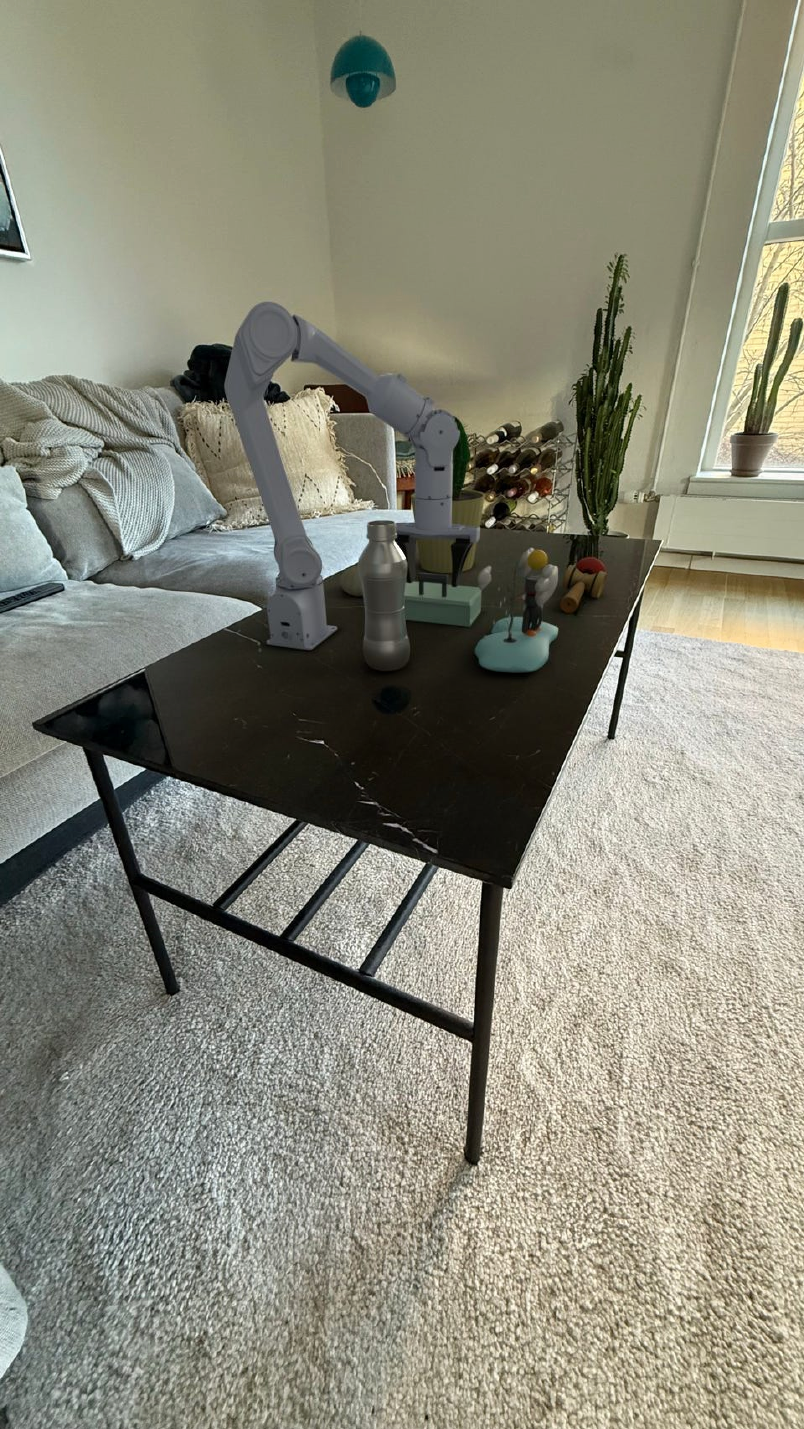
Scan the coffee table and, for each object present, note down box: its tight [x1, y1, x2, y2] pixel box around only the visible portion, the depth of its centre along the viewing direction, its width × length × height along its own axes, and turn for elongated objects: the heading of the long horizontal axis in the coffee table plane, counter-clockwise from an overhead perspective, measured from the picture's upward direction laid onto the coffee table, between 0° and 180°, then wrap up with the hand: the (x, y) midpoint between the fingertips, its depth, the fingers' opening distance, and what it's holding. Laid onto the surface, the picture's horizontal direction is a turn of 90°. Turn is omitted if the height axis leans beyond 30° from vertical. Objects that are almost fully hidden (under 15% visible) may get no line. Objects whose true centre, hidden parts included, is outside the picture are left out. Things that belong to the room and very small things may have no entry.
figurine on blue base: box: [474, 547, 559, 674], centre depth 85 cm, size 20×11×15 cm, turn 156°
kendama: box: [559, 556, 608, 614], centre depth 108 cm, size 8×6×18 cm
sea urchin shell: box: [339, 564, 363, 597], centre depth 115 cm, size 9×8×8 cm
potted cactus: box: [410, 415, 486, 574], centre depth 123 cm, size 15×15×30 cm
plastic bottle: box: [357, 519, 411, 672], centre depth 80 cm, size 6×7×20 cm
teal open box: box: [404, 592, 482, 628], centre depth 102 cm, size 7×13×4 cm, turn 70°
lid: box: [405, 572, 482, 606], centre depth 100 cm, size 8×13×4 cm, turn 70°
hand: (433, 583), depth 98 cm, fingers open, 7 cm apart
